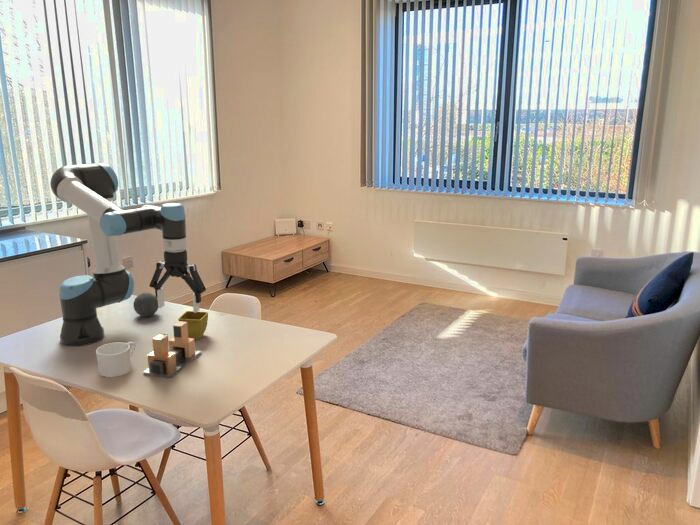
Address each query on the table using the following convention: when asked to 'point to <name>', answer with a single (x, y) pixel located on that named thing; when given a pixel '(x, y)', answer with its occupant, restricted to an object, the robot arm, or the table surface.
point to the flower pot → (195, 323)
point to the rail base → (166, 358)
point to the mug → (114, 358)
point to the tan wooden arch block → (182, 339)
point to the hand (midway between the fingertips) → (178, 309)
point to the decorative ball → (146, 304)
